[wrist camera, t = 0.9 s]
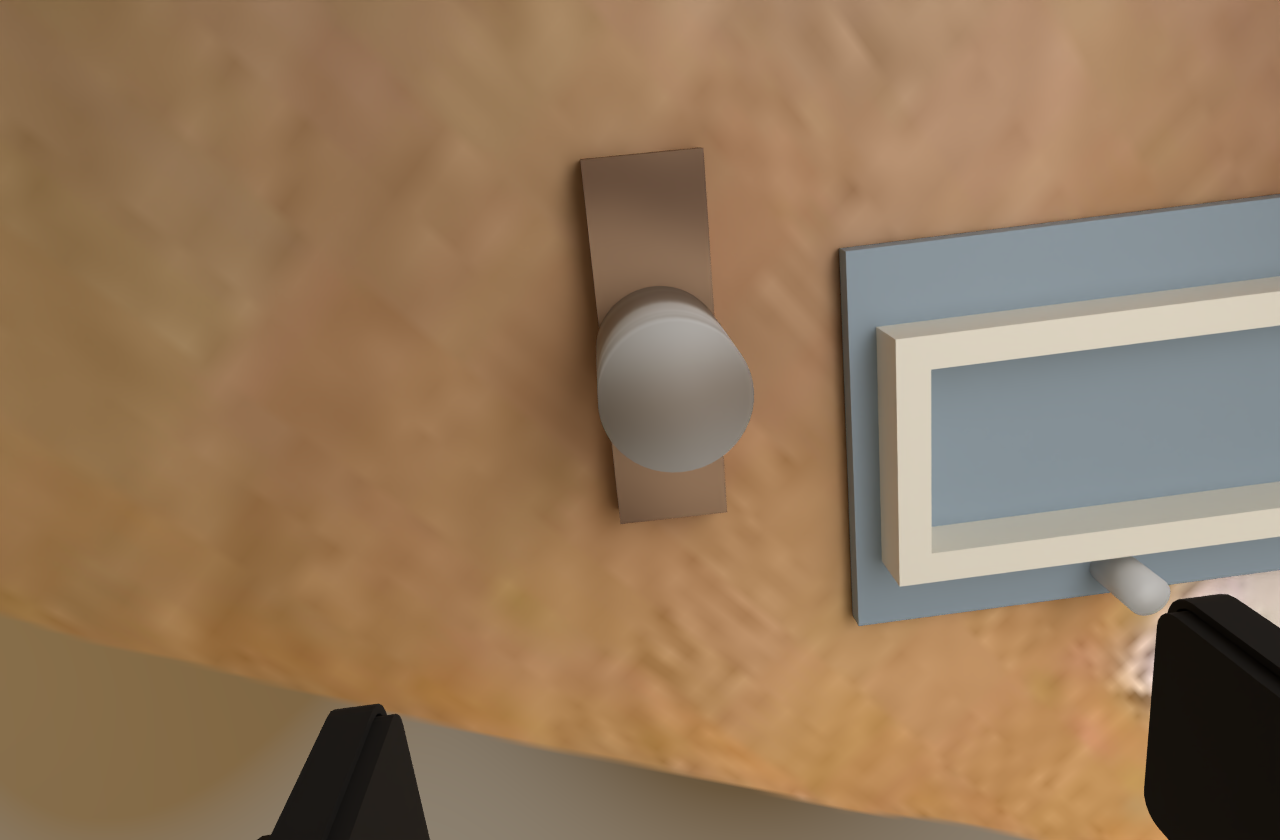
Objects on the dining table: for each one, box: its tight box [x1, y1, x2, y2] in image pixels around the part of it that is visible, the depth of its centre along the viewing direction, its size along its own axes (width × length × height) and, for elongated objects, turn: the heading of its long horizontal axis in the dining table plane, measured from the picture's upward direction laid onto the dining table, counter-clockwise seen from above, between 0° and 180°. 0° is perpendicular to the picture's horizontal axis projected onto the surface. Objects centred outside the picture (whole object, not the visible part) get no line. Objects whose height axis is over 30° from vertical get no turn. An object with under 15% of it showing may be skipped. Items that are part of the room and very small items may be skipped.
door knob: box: [580, 148, 754, 524], centre depth 27 cm, size 13×4×8 cm, turn 5°
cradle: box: [839, 194, 1280, 626], centre depth 31 cm, size 15×20×3 cm
